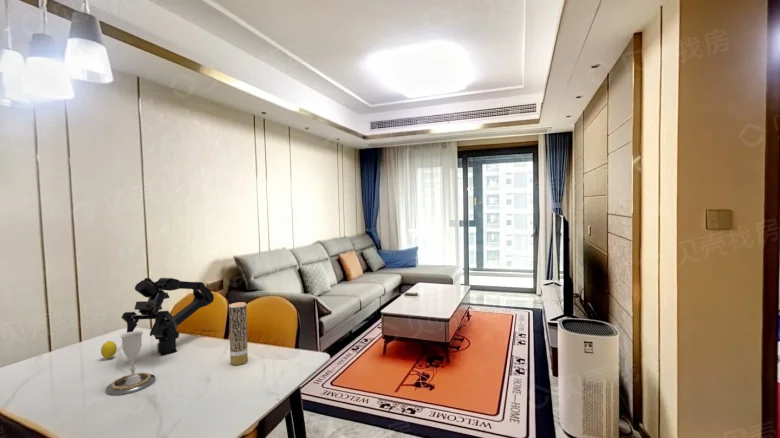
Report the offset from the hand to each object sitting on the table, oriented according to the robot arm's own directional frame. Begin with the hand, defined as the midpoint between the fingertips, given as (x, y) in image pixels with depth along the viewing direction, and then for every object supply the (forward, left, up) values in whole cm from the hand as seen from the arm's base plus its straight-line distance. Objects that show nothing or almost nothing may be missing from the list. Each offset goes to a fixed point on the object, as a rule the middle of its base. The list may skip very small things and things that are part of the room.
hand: (139, 335), depth 146 cm
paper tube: (-31, +25, -14) cm, 42 cm away
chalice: (+5, +15, -13) cm, 20 cm away
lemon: (+7, -23, -14) cm, 27 cm away
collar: (+5, +15, -13) cm, 21 cm away
